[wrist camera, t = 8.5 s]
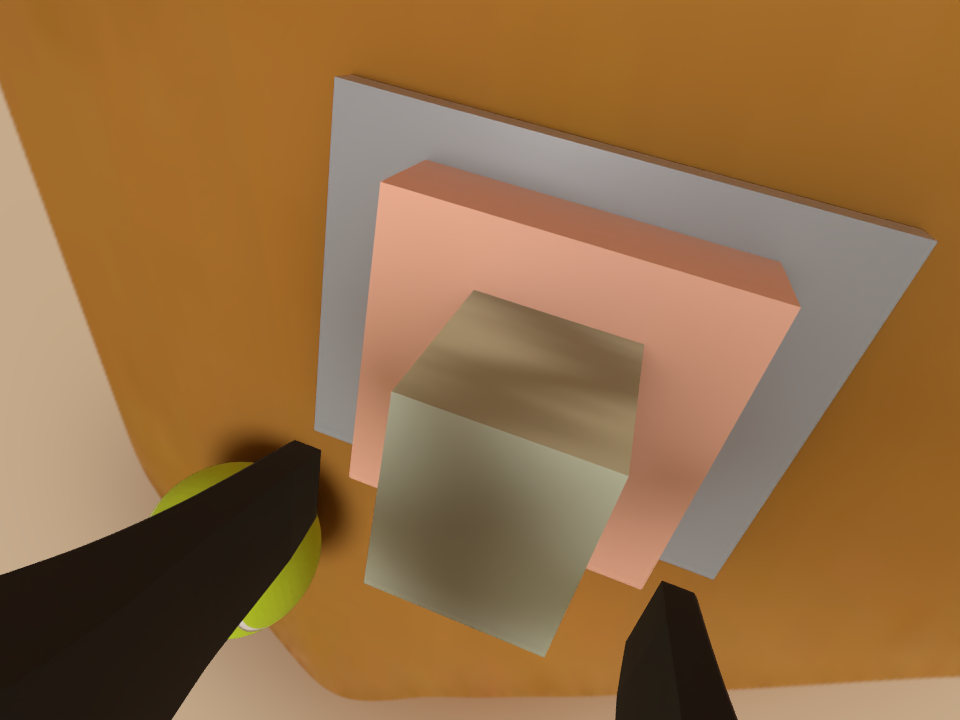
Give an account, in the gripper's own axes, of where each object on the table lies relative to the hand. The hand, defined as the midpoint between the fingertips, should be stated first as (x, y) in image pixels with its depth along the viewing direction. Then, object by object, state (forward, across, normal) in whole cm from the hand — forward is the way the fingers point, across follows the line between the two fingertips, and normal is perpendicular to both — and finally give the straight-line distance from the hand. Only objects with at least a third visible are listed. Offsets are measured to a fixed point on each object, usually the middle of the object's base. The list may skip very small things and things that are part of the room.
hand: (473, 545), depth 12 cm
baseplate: (+9, 0, 0) cm, 9 cm away
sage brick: (+5, 0, 0) cm, 5 cm away
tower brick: (+8, 0, 0) cm, 8 cm away
